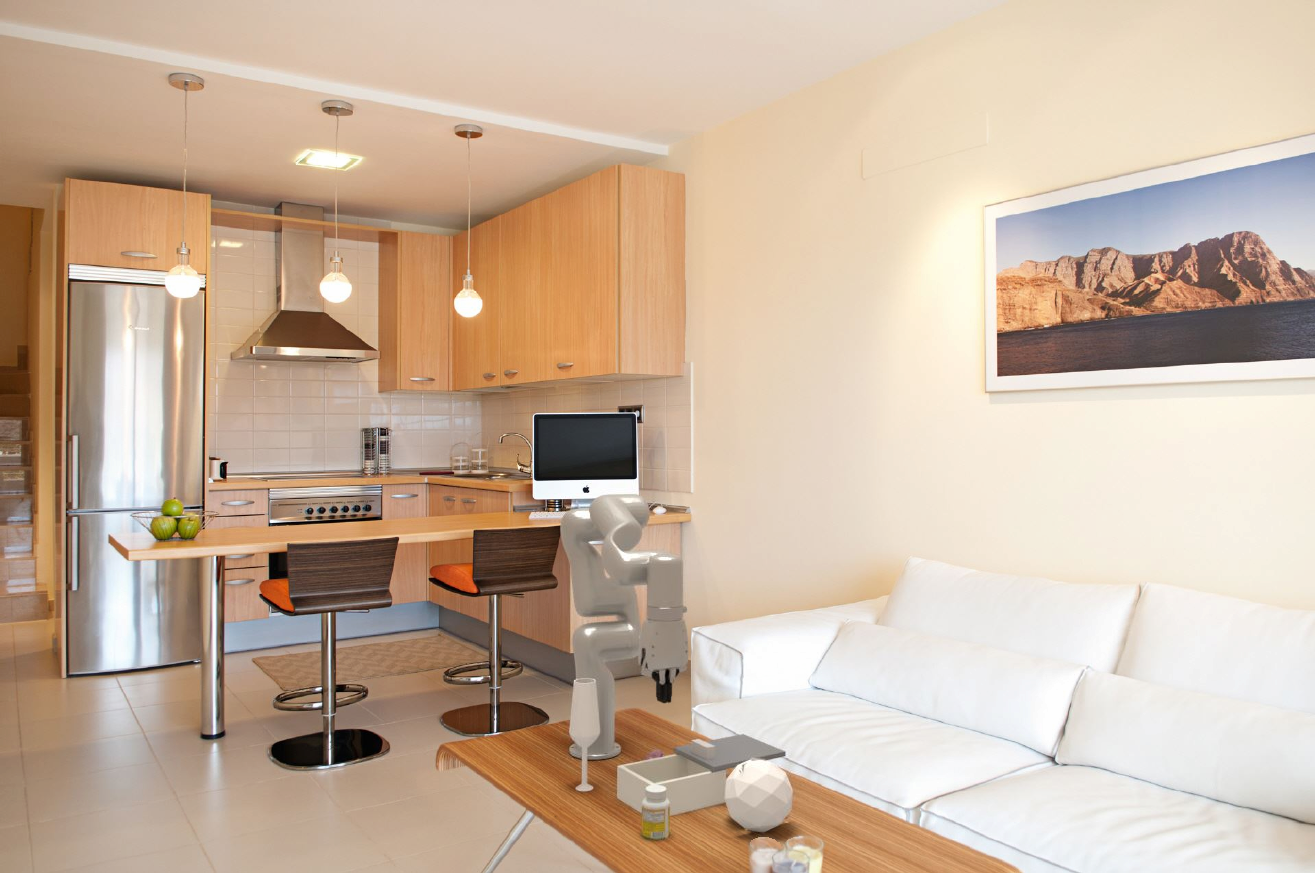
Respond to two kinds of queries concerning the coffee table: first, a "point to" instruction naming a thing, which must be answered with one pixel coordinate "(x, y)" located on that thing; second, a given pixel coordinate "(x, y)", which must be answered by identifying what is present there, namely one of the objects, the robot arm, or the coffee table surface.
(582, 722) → the champagne flute
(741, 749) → the lid
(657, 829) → the supplement bottle
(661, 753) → the video game controller
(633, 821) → the coffee table surface
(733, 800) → the geodesic sphere
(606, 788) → the coffee table surface
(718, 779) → the storage box
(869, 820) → the coffee table surface
